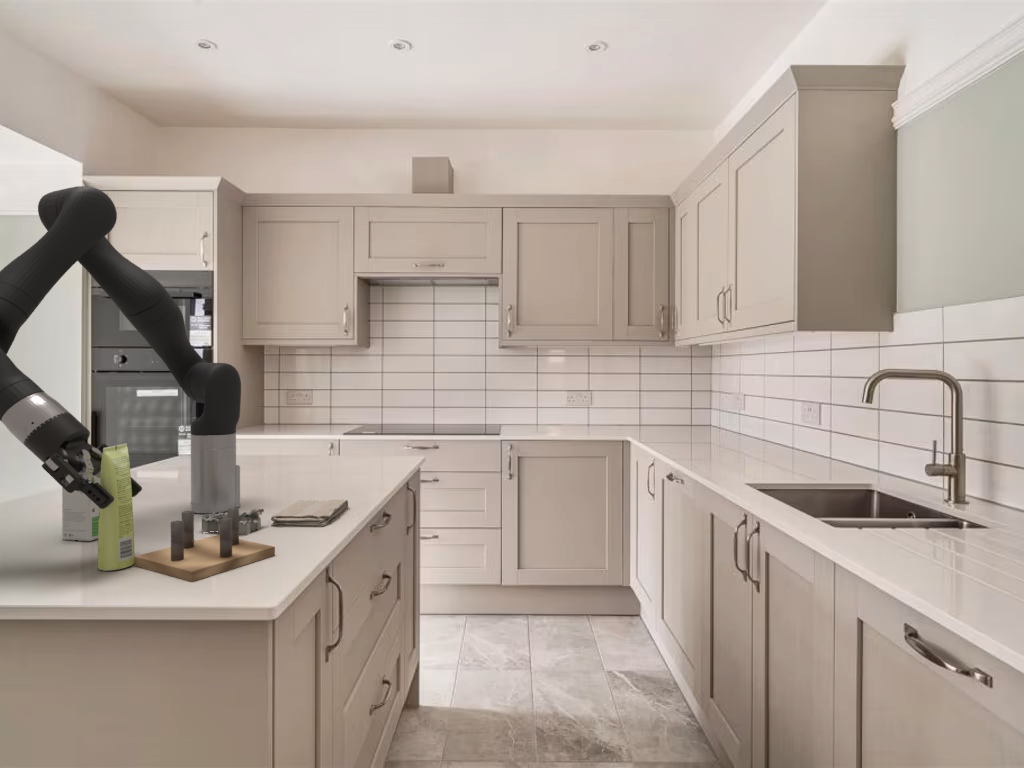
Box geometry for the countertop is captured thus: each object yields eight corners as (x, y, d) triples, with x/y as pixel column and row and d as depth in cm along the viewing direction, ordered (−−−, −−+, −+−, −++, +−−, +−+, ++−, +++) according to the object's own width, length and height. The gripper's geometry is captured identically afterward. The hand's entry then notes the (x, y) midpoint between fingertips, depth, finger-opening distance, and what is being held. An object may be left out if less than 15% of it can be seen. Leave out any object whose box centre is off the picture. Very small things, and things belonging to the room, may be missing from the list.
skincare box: (89, 542, 110) (88, 457, 110) (59, 540, 112) (58, 456, 111) (126, 530, 119) (126, 451, 118) (98, 528, 120) (98, 450, 120)
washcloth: (268, 529, 122) (268, 514, 122) (297, 509, 140) (297, 496, 140) (327, 529, 122) (327, 514, 122) (349, 509, 140) (349, 496, 140)
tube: (92, 566, 97) (91, 445, 97) (127, 559, 101) (127, 442, 100) (103, 574, 93) (102, 448, 93) (140, 566, 97) (139, 445, 97)
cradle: (218, 542, 111) (218, 502, 110) (274, 555, 103) (274, 511, 103) (134, 565, 97) (133, 519, 97) (191, 581, 90) (191, 531, 90)
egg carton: (266, 528, 122) (266, 508, 122) (240, 538, 115) (240, 517, 115) (223, 524, 125) (223, 504, 125) (194, 533, 118) (194, 512, 118)
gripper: (33, 414, 89) (117, 490, 90) (90, 408, 103) (162, 474, 104) (-5, 450, 88) (79, 526, 90) (57, 439, 102) (129, 505, 104)
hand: (123, 498), depth 97 cm, fingers open, 8 cm apart
